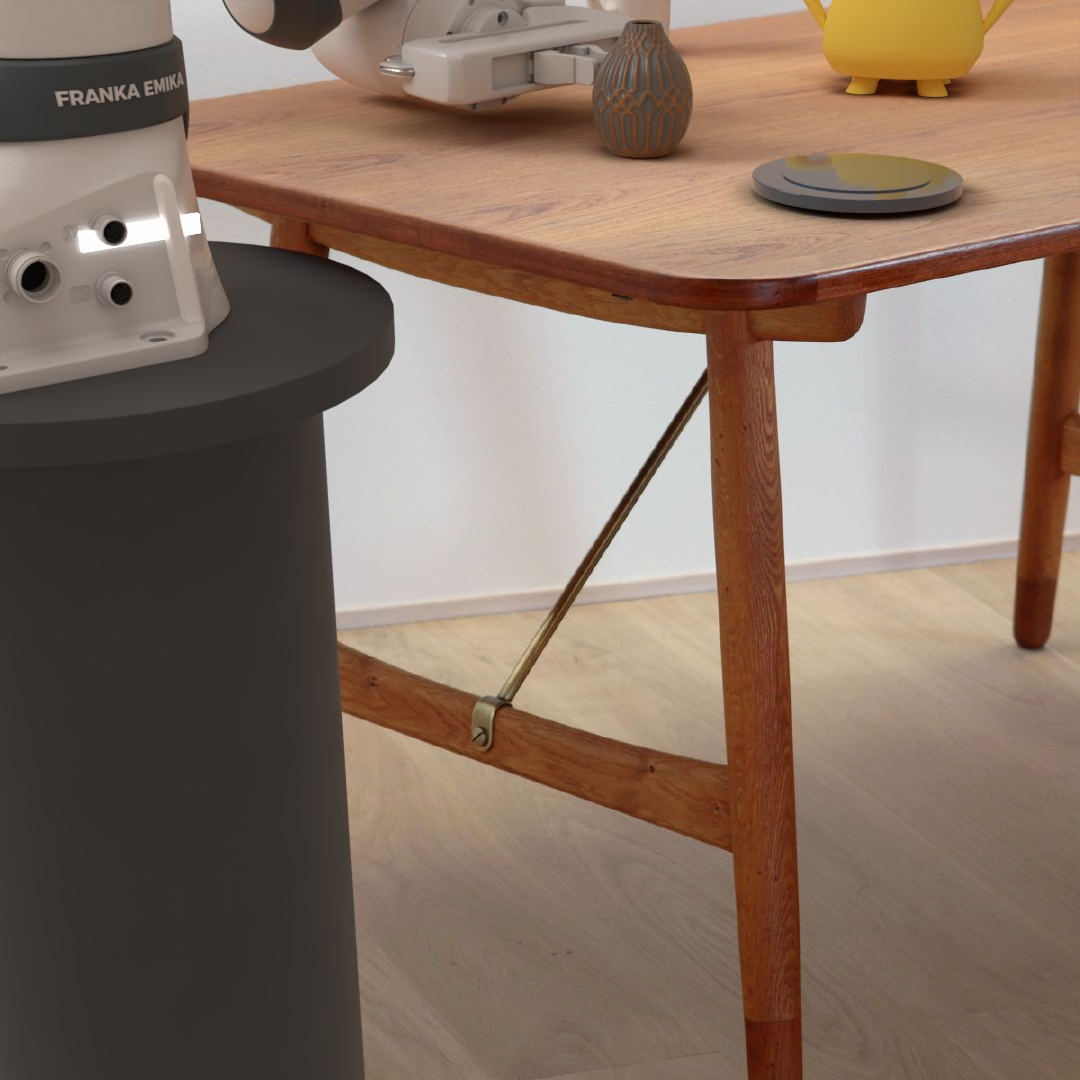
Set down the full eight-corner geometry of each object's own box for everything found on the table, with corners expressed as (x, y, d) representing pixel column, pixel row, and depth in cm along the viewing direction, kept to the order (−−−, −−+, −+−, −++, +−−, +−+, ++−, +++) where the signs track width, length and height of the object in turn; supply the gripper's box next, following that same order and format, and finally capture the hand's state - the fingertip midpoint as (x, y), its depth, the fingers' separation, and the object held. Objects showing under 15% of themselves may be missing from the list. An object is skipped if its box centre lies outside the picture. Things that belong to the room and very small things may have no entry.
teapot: (1026, 90, 141) (1043, -63, 136) (895, 108, 134) (908, -52, 129) (907, 66, 152) (919, -77, 147) (780, 82, 145) (788, -67, 140)
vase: (598, 164, 117) (599, 30, 113) (586, 143, 123) (586, 15, 120) (699, 161, 118) (703, 28, 114) (682, 140, 124) (685, 13, 120)
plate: (880, 231, 100) (881, 209, 100) (708, 195, 109) (709, 174, 108) (1002, 193, 109) (1004, 172, 108) (834, 162, 117) (835, 143, 116)
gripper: (363, 20, 122) (499, 41, 113) (566, -8, 135) (702, 8, 126) (367, 111, 124) (500, 138, 115) (566, 75, 137) (700, 96, 128)
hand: (608, 70), depth 121 cm, fingers closed, pressing on vase
